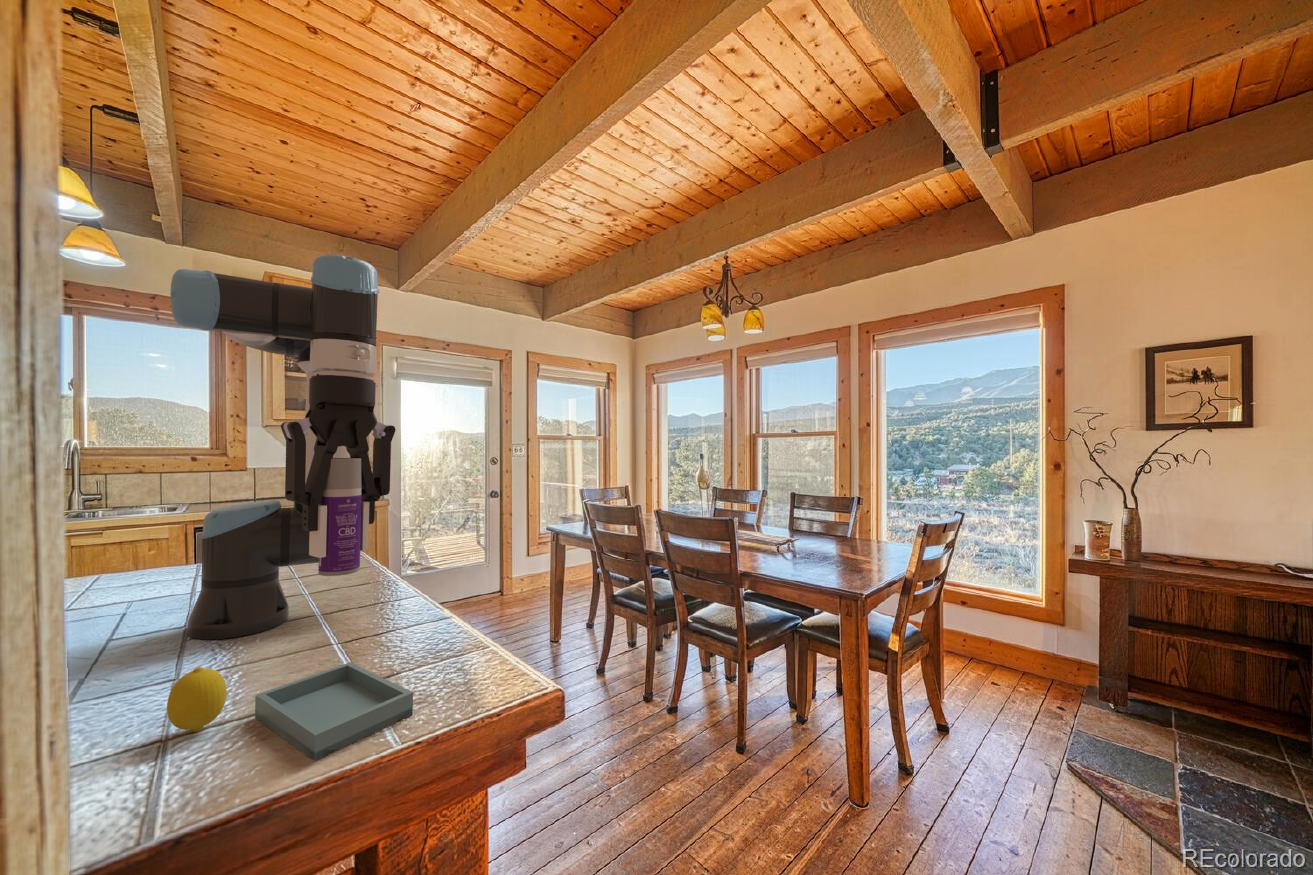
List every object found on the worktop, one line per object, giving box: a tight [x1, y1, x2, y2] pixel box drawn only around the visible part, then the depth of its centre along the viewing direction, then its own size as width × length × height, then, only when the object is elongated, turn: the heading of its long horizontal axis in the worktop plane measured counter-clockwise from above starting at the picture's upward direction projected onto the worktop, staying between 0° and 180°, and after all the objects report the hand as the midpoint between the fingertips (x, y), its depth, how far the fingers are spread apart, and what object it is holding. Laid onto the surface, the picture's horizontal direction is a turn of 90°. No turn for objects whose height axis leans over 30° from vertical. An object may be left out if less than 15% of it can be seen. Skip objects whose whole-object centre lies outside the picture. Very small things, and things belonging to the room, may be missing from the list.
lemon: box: [166, 666, 228, 733], centre depth 64 cm, size 6×6×8 cm
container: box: [317, 458, 362, 577], centre depth 68 cm, size 5×5×15 cm
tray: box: [254, 662, 414, 762], centre depth 68 cm, size 16×12×3 cm
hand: (339, 551), depth 68 cm, fingers closed on container, 5 cm apart
